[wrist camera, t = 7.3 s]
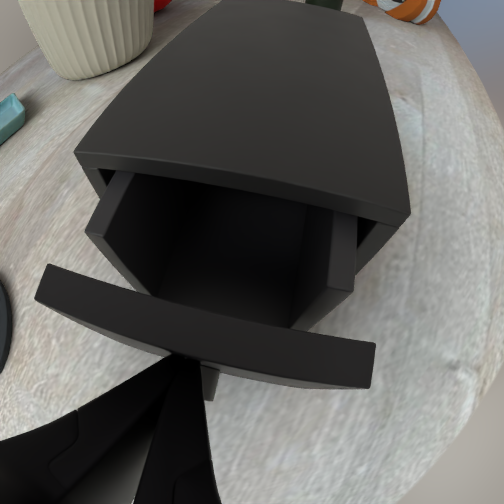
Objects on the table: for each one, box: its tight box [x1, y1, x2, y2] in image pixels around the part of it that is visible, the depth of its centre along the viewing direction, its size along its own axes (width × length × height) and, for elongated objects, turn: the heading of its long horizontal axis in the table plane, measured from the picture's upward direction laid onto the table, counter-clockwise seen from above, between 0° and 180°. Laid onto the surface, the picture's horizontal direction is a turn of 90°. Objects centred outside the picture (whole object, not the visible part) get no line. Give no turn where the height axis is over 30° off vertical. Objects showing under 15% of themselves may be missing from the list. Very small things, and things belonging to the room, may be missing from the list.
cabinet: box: [74, 0, 411, 275], centre depth 16 cm, size 20×11×10 cm, turn 168°
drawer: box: [34, 170, 376, 401], centre depth 14 cm, size 20×9×8 cm, turn 168°
